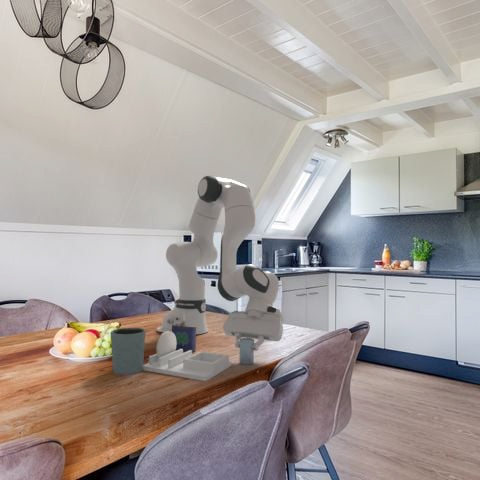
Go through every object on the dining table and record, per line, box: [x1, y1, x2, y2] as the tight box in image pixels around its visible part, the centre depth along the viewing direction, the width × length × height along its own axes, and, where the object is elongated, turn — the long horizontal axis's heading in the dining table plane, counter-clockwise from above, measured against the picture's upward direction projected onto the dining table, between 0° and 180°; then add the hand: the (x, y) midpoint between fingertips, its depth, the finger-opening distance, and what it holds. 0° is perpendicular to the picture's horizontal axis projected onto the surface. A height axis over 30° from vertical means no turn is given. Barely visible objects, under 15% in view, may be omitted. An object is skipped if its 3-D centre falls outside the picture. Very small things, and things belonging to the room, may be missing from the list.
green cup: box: [110, 327, 146, 376], centre depth 116 cm, size 10×10×12 cm
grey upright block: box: [238, 337, 255, 365], centre depth 125 cm, size 5×5×7 cm
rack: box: [142, 331, 233, 382], centre depth 119 cm, size 22×16×10 cm
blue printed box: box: [172, 321, 197, 353], centre depth 138 cm, size 9×3×11 cm, turn 74°
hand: (245, 348), depth 124 cm, fingers closed on grey upright block, 5 cm apart
